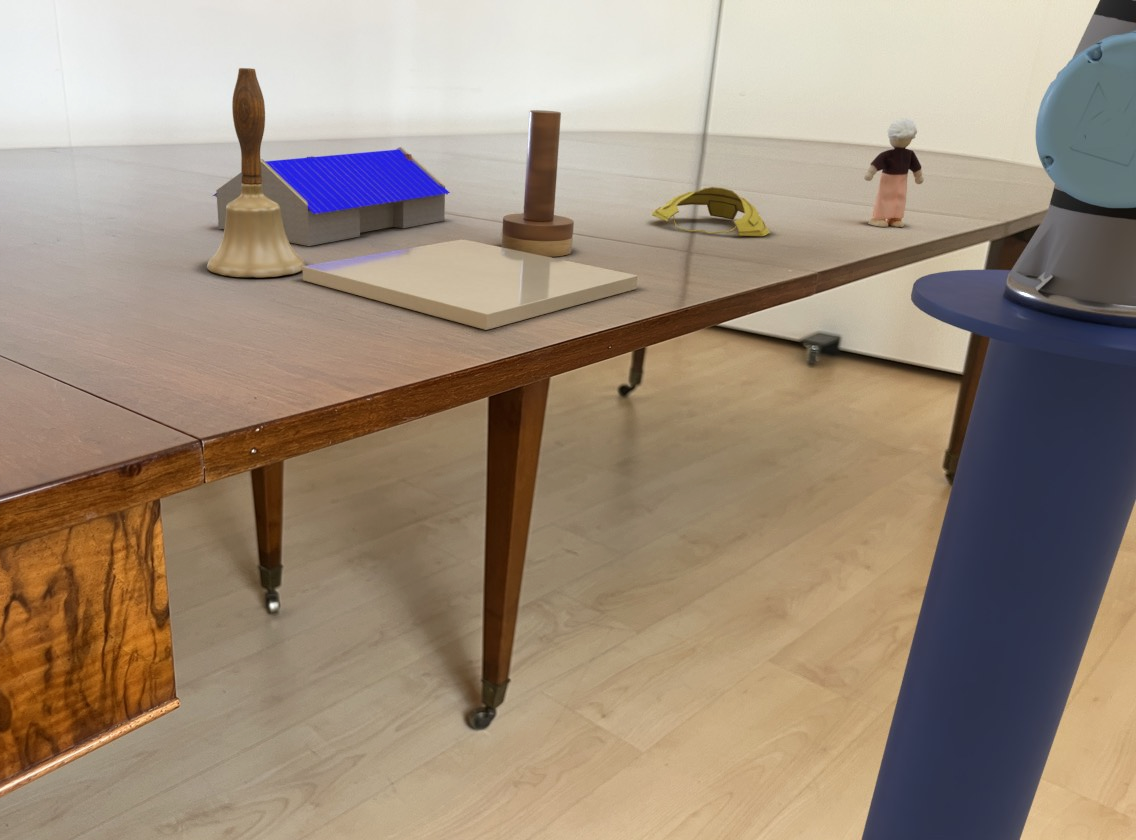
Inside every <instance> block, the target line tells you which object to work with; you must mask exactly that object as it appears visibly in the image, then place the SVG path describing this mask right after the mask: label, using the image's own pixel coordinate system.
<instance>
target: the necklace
mask: <svg viewBox="0 0 1136 840" xmlns="http://www.w3.org/2000/svg"><path fill="white" fill-rule="evenodd" d="M690 205H693V206H706V207H707V211H708V214H709V216H710V217H716V218H721V219H727V220H731V221H733V223H734V225H735V226H734V227H733V228H732V229H730V230H720V231H711V232H710V231H707V230H704V229H696V230H695V229H694V230H692V229H685V228H680V227H679V226H677V223H676V218H675V215H676V214H678V213H679V212H680V210H679V208H678V207H681V206H690ZM738 212H740V213H741V214H742V213H743V214H744V215H743V217H741V218H739V219H736V220H735V218H736V216H737V215H738ZM651 216H653V217H655V218H658V219H660V220H663V221H665V222H670V220H671V218H672V217H673V224H674V226H675V228H676V229H678V230H680V231H685V232H691V233H699V232H700V233H701V232H703V233H704V234H705V233H706V234H708V235H713V234H714V235H715V234H726V233H727V234H728V233H731V232H733V231H734V230H736V229H737V233H738V234H737V235H738V236H743V237H744V236H745V237H765V236H767V235H770V234H771V232H770V230H769V229H768V226H767V225H766V223H765V221H764V220H763V219H762V218H761V215H760V213H759V212H758V210H757V208H756V207H755V206H754V205H753V204H751V202H749V201H748V200H747V199H746V198H744V197H741V196H740V195H738V193H736V192H735V191H734V190H731V189H728V188H724V187H716V186H711V187H704V188H702V189H699V190H694V191H688V192H686V193H682V194H680V195H677V196H675V197H673V198H672V199H670V200H669V201H667V202H666V204H665V205H662V206H660V207H658V208H657V209H655V210H653V211H652V213H651Z"/></svg>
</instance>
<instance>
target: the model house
mask: <svg viewBox="0 0 1136 840" xmlns="http://www.w3.org/2000/svg"><path fill="white" fill-rule="evenodd" d="M260 159H261V173H262V174H261V177H262V183H261V184H262V190H263V194H264V195H265V196H266V197H267V198H268V199H270V200H272V201H274V202H276V203H277V204H278V205H279V206H280V210H281V217H282V222H283V227H284V230H285V234H286V237H287V239H288V241H289V243H291V244H297V245H302V246H306V247H311V246H317V245H323V244H327V243H333V242H338V241H344V240H348V239H354V238H359V237H361V233H366V232H372V231H376V230H377V231H378V230H382V229H383V230H384V229H388V228H399V229H408V228H413V227H418V226H423V225H428V224H434V223H438V222H439V223H440V222H443V221H445V213H446V211H445V210H446V208H445V207H446V195H448V194H451V192H450V191H449V190H448V189H446V185H444V183H442V182H441V180H439V179H438V178H437V177H436V176H434V174H432V172H431V171H429V170H428V169H427V168H426V167H425V166H423V164H421V163H420V162H419V161H418V160H417V158H414V156H412V154H411V153H409V152H408V151H407V150H406V149H405V148H404V147H402V146H399V147H397V148H396V149H388V150H377V151H376V150H375V151H367V152H353V153H343V154H342V153H341V154H333V155H322V156H320V155H319V156H313V155H311V156H306V157H299V158H298V157H297V158H287V159H279V160H278V159H277V160H264V159H263V158H260ZM242 176H243V175H242V172H239V173H238V174H237V175H236V176H234V177H233V178H231V179H230V180H228V181H227V182H226V183H224V184H223V185H222V186H221V187H218V188H217V189H216V190H215V191H216V193H214V194H213V195H212V197H215V198H216V207H217V223H218V229H219V230H220V229H221V230H224V229H225V221H226V206H227V204H228V203H230V202H232V201H233V200H235V199H236V198H238V197H239V196H240V195H241V193H242V181H241V177H242Z"/></svg>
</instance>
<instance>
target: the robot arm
mask: <svg viewBox="0 0 1136 840" xmlns="http://www.w3.org/2000/svg"><path fill="white" fill-rule="evenodd" d="M1036 116H1037V117H1036V122H1035V146H1036V151H1037V155H1038V158H1039V161H1040V164H1041V166H1042V168H1043V169H1044V171H1045V173H1046V174H1047V176H1048V177H1049V178H1050V180H1051V182H1053V183H1054V185H1053V190H1052V194H1051V198H1050V200H1049V205H1048V208H1047V212H1046V214H1045V215H1044V218H1043V220H1042V221H1041V223H1040V224H1039V226H1038V227H1037V229H1036V231H1035V232H1034V233H1033V235H1032V237H1031V238H1030V240H1029V241H1028V242H1027V245H1026V246H1025V248H1024V249H1023V251H1022V252H1021V254H1020V256H1019V257H1018V258H1017V261H1016V262H1015V264H1014V265H1013V266H1012V269H1010V270H1011V272H1010V273H1009V274H1008V278H1007V282H1006V286H1005V290H1004V294H1003V295H1004V297H1005V298H1006V299H1007V300H1009V301H1010V302H1012V303H1014V304H1016V305H1019V306H1021V307H1024V308H1027V309H1030V310H1033V311H1036V312H1040V313H1043V314H1047V315H1051V316H1055V317H1060V318H1065V319H1069V320H1075V321H1080V322H1086V323H1092V324H1099V325H1106V326H1114V327H1124V328H1136V0H1099V1H1098V3H1097V5H1096V8H1095V9H1094V12H1093V14H1092V15H1091V18H1090V20H1089V21H1088V24H1087V26H1086V28H1085V30H1084V32H1083V34H1082V37H1081V38H1080V41H1079V43H1078V45H1077V47H1076V50H1075V51H1074V53H1073V56H1072V58H1071V59H1070V60H1069V61H1068V63H1067V64H1066V65H1065V66H1064V67H1063V68H1062V69H1060V71H1058V73H1057V74H1056V77H1055V79H1053V81H1051V82H1050V84H1049V86H1048V87H1047V89H1046V91H1045V92H1044V94H1043V96H1042V99H1041V102H1040V104H1039V109H1038V112H1037V115H1036Z"/></svg>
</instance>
